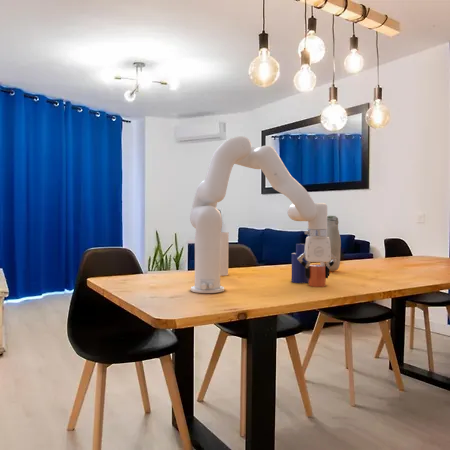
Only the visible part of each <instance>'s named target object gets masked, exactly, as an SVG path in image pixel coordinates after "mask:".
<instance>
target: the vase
mask: <svg viewBox="0 0 450 450" xmlns="http://www.w3.org/2000/svg"><path fill="white" fill-rule="evenodd" d="M228 275H229V232H228V231H221V238H220V277H221V276H222V277H223V276H228Z"/></svg>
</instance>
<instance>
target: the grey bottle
mask: <svg viewBox="0 0 450 450" xmlns="http://www.w3.org/2000/svg"><path fill="white" fill-rule="evenodd" d="M327 237H329V239H330V246H331V253H332V254H333V255H334V256H335V257H336V258H337V261H336V262H335V263H334V264H333V265H332V266H331V267H330V268H329V272H336V271H338V270H339V268H340V265H341V247H342V240H341V239H342V238H341V235H340V230H339V218H338V216H336V215H327ZM331 261H332V258H331ZM331 261H330V262H331ZM328 263H329V262H328ZM319 265H325V264H324V262H319Z"/></svg>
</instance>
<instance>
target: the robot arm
mask: <svg viewBox="0 0 450 450" xmlns="http://www.w3.org/2000/svg"><path fill="white" fill-rule="evenodd" d="M234 165H237V166H241V167H245V168H248V169H253V170H261V172H262V173H263V175H264V176H265V178H266V180H267V182H268V183H269V185H270V186H271V188H272V189H273V190H274V191H276V192H278V193H279V194H282V195H283V196H285V197H286V198H287V199H288V200H289V201H290V202H291V203H292V204H290V205H289V206H288V208H287V216H288V217H289V219H291V220H292V221H294V222H307V230H304V232H303V233H304V235H307V236H306V238H305V243H304V244H305V250H304V253H303V254H302V255H300V256H299V257H298V258H297V259H298V261H299V262H300V263H301V264H302V265H303V266H304V267H305V276H306V278H310V269H309V265H311V263H320V262H324V264H325V266H326V279H329V277H330V271H329V268H330V267H331V266H332V265H333V264H334V263H335V262H336V261H337V258H336V257H335V256H334V255H333V254H332V253H331V246H330V239H329V237H327V216H328V205H327V203H325V202H315V201H314V200H313V198H312V197H311V195H310V194H309V191H307V189H306V188H305V187H304V186H303V185H302V184H301V183H299V181H298V180H297V179H295V178H294V177H293V176H292V175H291V173H290V172H289V169H288V168H287V167H286V165H285V163H284V162H283V160H282V158H281V157H280V156H279V153H278V152H277V150H276V149H275V148H274V147H273V146H271V145H262V146H259V147H253V146H252V142H251V140H250V139H249V138H248V137H247V136H243V135H237V136H233V137H230V138H228V139H226V140H224V141H223V142H222V143H221V144H220V145H219V146H218V147H217V148H216V149H215V150H214V152H213V154H212V156H211V158H210V161H209V165H208V168H207V172H206V176H205V179H204V180H202V181H201V182H199V184H198V185H197V187H196V190H195V193H194V197H193V202H192V205H191V210H190V213H189V214H190V215H189V221H190V224H191V226H192V227H193V228H194V229H195V233H194V234H195V235H194V285H193V286H192V285H191V287H190V292H193V293H196V294H218V293H222V292H224V291H225V287H224V286H222V285H221V276H220V238H221V232H222V227H223V217H222V214H221V212H220V210H219V209H218V208H217V206H218V203H220V202H222V200H224V199H225V197H226V194H227V190H228V185H229V180H230V178H231V177H230V176H231V173H232V170H233V167H234ZM303 258H304V259H305V260H306V263H304V262H303V260H302V259H303ZM331 258H332V261H331ZM330 261H331V262H330ZM328 262H329V263H328Z"/></svg>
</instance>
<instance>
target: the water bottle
mask: <svg viewBox="0 0 450 450" xmlns="http://www.w3.org/2000/svg"><path fill="white" fill-rule="evenodd" d="M304 250H305V243H296V244H295V252H292V253H291V283H294V284H308V278H306V276H305V267H304V266H303V265H302V264H301V263H300V262H299V261H298V259H297V258H298V257H299V256H300V255H302V254H303V253H304ZM302 260H303V262H304V263H306V260H305V259H304V258H303V259H302Z"/></svg>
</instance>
